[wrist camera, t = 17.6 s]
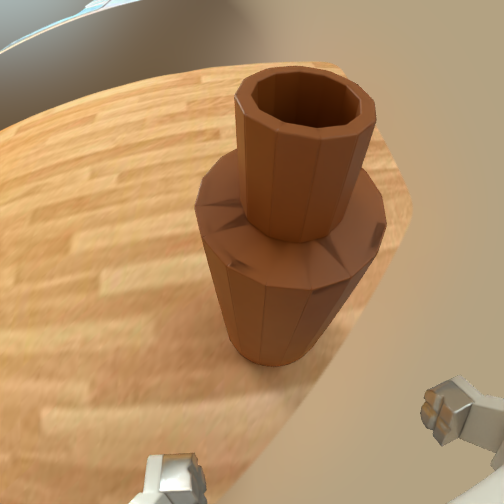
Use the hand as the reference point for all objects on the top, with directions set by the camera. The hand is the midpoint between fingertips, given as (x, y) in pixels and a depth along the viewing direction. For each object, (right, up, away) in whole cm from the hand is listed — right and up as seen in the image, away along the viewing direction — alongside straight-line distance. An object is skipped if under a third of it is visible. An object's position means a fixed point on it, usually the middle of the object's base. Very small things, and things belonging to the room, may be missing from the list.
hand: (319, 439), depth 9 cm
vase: (-1, +1, +13) cm, 13 cm away
